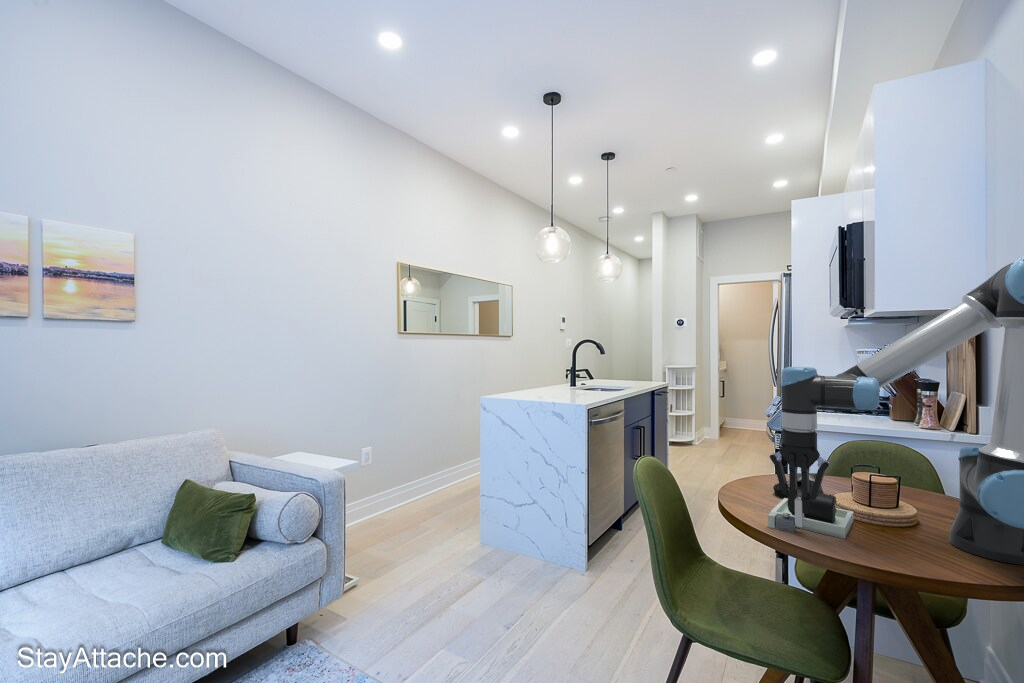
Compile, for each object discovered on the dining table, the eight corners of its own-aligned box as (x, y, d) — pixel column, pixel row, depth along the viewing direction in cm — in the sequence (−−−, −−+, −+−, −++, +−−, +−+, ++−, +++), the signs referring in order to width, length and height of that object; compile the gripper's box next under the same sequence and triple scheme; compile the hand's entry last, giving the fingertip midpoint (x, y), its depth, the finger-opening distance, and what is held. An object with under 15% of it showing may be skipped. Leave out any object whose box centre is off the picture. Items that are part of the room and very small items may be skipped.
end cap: (787, 517, 124) (787, 491, 124) (794, 510, 129) (794, 485, 129) (832, 527, 117) (832, 500, 117) (838, 520, 122) (838, 494, 122)
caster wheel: (773, 504, 144) (785, 493, 150) (813, 506, 135) (824, 494, 142) (766, 483, 145) (779, 472, 151) (806, 483, 136) (818, 472, 142)
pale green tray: (853, 521, 123) (853, 510, 123) (841, 544, 109) (841, 531, 109) (784, 507, 134) (784, 496, 134) (765, 526, 120) (765, 514, 120)
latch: (796, 529, 118) (796, 514, 118) (793, 533, 116) (793, 517, 116) (778, 525, 120) (778, 510, 120) (775, 528, 118) (775, 513, 118)
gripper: (833, 430, 115) (833, 527, 115) (773, 424, 124) (774, 514, 123) (827, 434, 109) (828, 537, 109) (765, 428, 118) (766, 522, 118)
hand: (799, 525), depth 116 cm, fingers closed
